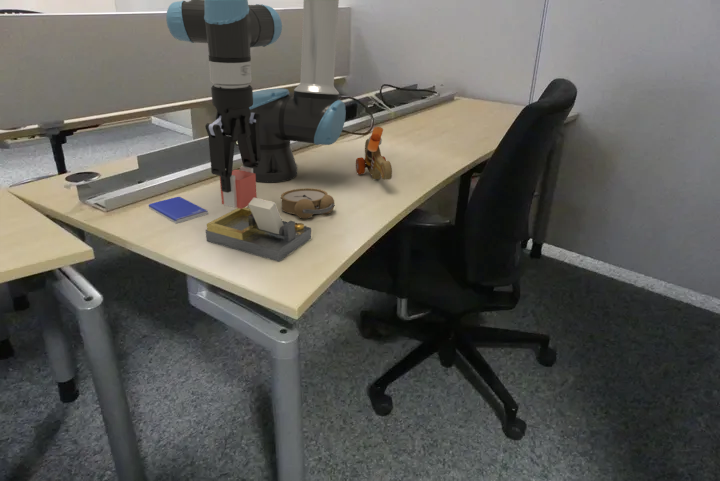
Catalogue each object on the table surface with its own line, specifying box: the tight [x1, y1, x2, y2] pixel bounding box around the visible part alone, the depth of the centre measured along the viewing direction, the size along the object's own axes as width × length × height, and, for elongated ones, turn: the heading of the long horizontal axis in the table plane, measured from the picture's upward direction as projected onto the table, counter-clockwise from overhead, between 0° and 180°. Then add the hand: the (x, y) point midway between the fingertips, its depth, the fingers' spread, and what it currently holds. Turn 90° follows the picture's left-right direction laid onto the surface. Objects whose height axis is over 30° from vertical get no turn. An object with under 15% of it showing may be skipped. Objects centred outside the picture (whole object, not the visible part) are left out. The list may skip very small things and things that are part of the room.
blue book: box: [148, 196, 209, 225], centre depth 121 cm, size 2×8×12 cm
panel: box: [205, 207, 312, 262], centre depth 108 cm, size 12×18×6 cm, turn 63°
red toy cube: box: [219, 169, 258, 209], centre depth 105 cm, size 5×5×6 cm
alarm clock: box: [280, 187, 336, 220], centre depth 124 cm, size 11×5×15 cm
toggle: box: [248, 197, 284, 236], centre depth 103 cm, size 2×6×8 cm, turn 63°
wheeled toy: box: [355, 126, 393, 181], centre depth 142 cm, size 8×21×14 cm, turn 14°
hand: (239, 201), depth 107 cm, fingers closed on red toy cube, 5 cm apart
